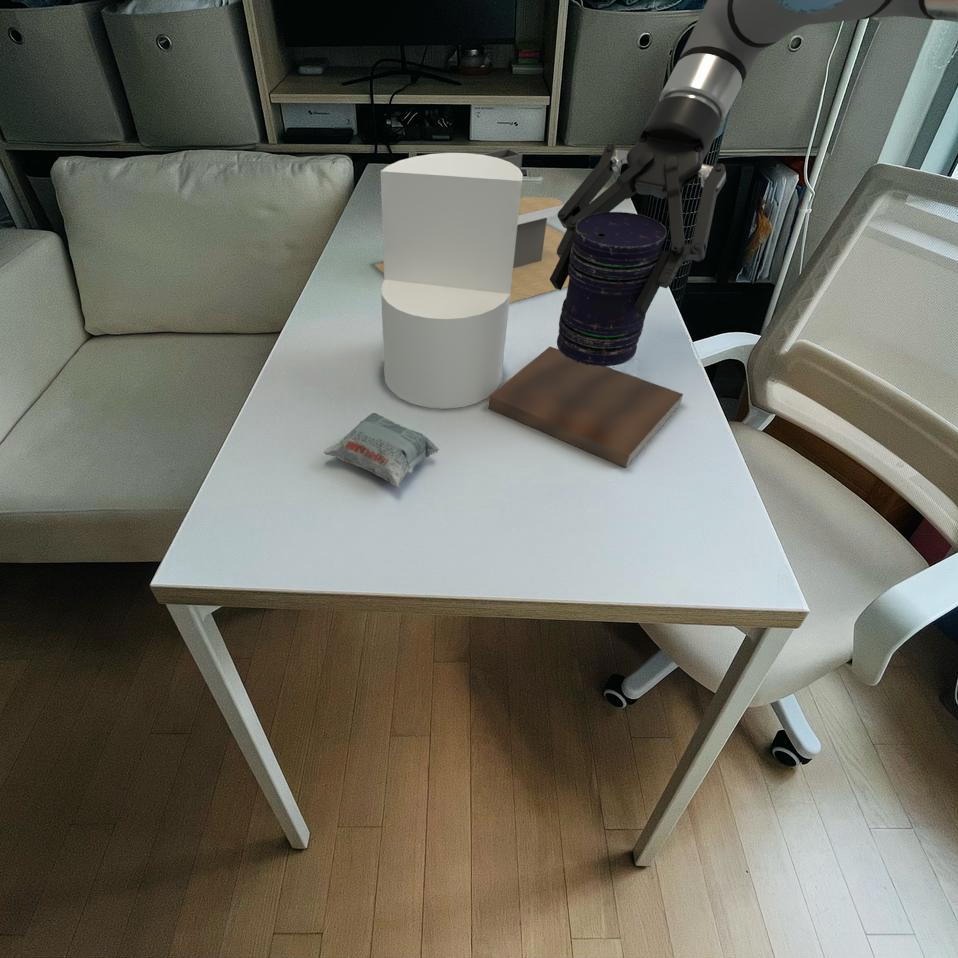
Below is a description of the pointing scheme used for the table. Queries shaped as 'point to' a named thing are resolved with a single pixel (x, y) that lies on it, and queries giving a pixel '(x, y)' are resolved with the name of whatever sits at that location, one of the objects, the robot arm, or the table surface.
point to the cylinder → (447, 275)
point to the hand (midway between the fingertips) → (595, 297)
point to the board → (586, 405)
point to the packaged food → (383, 448)
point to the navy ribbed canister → (607, 286)
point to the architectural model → (531, 241)
